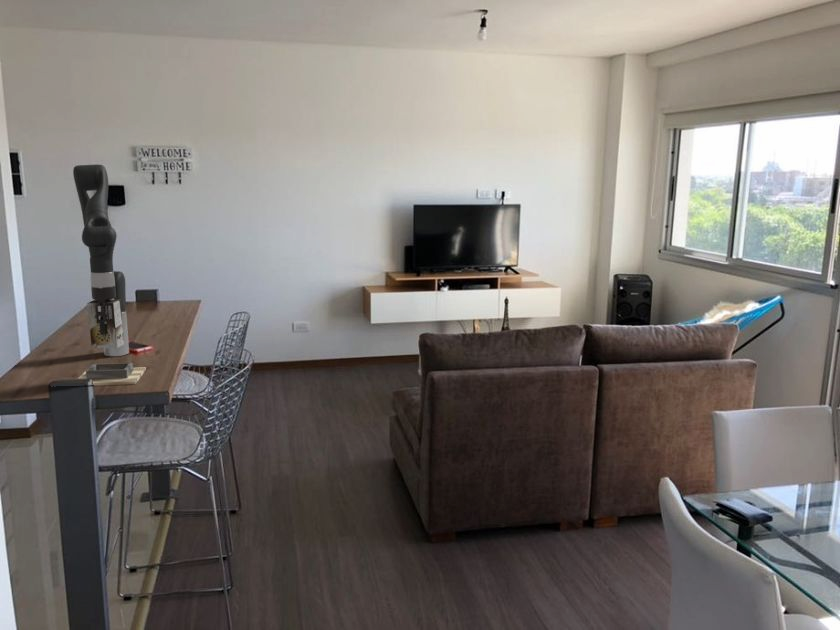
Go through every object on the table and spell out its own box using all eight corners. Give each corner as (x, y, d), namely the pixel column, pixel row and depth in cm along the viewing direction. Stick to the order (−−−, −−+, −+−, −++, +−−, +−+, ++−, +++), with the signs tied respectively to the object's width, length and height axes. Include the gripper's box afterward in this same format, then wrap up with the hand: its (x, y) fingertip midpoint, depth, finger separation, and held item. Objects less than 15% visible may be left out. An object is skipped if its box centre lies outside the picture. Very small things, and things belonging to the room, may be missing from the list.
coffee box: (124, 344, 237) (121, 299, 234) (117, 348, 231) (113, 302, 228) (98, 344, 237) (95, 299, 234) (90, 348, 231) (86, 302, 227)
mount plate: (87, 372, 243) (86, 361, 242) (146, 369, 247) (145, 359, 246) (72, 386, 225) (71, 375, 225) (135, 384, 229) (134, 372, 229)
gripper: (97, 282, 236) (100, 328, 239) (85, 288, 222) (89, 337, 225) (119, 281, 237) (123, 327, 240) (109, 287, 224) (113, 336, 227)
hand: (106, 332), depth 233 cm, fingers closed on coffee box, 7 cm apart
